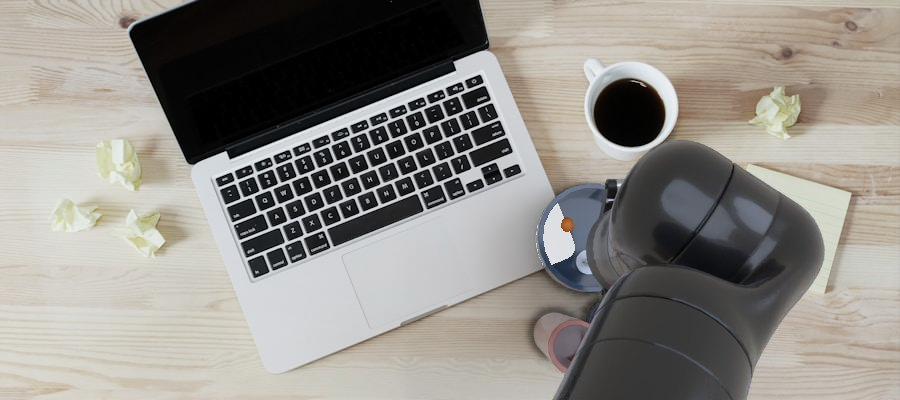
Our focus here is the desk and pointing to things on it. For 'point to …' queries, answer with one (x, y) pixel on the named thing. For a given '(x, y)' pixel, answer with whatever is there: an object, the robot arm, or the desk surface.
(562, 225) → the bead
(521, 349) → the desk surface
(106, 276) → the desk surface
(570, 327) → the crock
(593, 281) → the bowl
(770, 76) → the desk surface
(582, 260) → the ladle
